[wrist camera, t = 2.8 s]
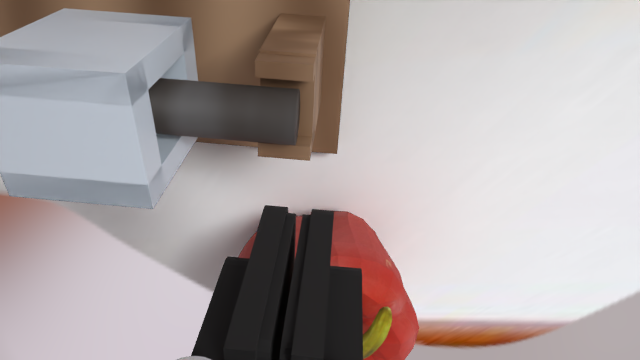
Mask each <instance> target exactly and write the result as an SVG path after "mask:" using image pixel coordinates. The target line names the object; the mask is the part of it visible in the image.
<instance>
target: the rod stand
mask: <svg viewBox="0 0 640 360" xmlns="http://www.w3.org/2000/svg"><path fill="white" fill-rule="evenodd" d="M349 5H350V0H0V37H2V36H4V35H6V34H8V33H11V32H13V31H15V30H17V29H20V28H22V27H24V26H26V25H28V24H31V23H33V22H35V21H37V20H39V19H42V18H44V17H46V16H48V15H50V14H53V13H55V12H57V11H59V10H61V9H64V8H67V9H81V10H94V11H108V12H121V13H135V14H148V15H162V16H175V17H188V18H191V21H192V30H193V39H194V48H195V57H196V66H197V75H198V81H191V80H179V79H166V78H159V79H158V80H157V81H156V82H155V83H154V85H153V86H152V87H151V88H150V89H149V90H148V92H149V97H150V103H151V108H152V114H153V120H154V125H155V131H156V134H165V135H177V136H189V137H198V138H197V140H196V141H195V142H204V143H216V144H228V145H240V146H251V147H258V156H261V157H273V158H285V159H296V160H308V161H310V156H311V152H322V153H334V154H337V147H338V135H339V124H340V112H341V100H342V88H343V76H344V64H345V53H346V41H347V29H348V17H349Z"/></svg>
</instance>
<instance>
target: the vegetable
mask: <svg viewBox="0 0 640 360" xmlns="http://www.w3.org/2000/svg"><path fill="white" fill-rule="evenodd" d="M301 221H302V216H296V239H295V257H296V251H297V245H298V239H299V233H300V227H301ZM256 234H257V232H256V233H255V234H254V235H253V236H252V237H251V238H250V240H249V241H248V242H247V244H246V245H245V247H244V248H243V250H242V251H241V253H240V255H239V257H238V258H250V254H251V251H252V248H253V244H254V241H255V237H256ZM330 266H340V267H351V268H361V269H362V311H363V360H405V358H406V357H407V356H408V354H409V353H410V352H411V350H412V349H413V347H414V344H415V341H416V337H417V333H418V329H419V326H418V321H417V317H416V313H415V311H414V308H413V306H412V303H411V301H410V299H409V297H408V295H407V293H406V291H405V289H404V287H403V283H402V280H401V276H400V273H399V271H398V269H397V268H396V266H395V264H394V263H393V261H392V259H391V258H390V256H389V255H388V253H387V252H386V250H385V249H384V247H383V245H382V244H381V242H380V241H379V239H378V237H377V235H376V233H375V232H374V231H373V230H372V229H371V228H370V227H369V225H368V224H367V223H366V222H365V221H364V220H363V219H361V218H359V217H357V216H355V215H353V214H351V213H349V212H344V211H334V220H333V234H332V248H331V262H330Z"/></svg>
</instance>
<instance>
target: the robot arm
mask: <svg viewBox="0 0 640 360" xmlns="http://www.w3.org/2000/svg"><path fill="white" fill-rule="evenodd" d="M333 220H334V211H326V210H314V209H312V212H311V215H303V216H302V221H301V227H300V233H299V239H298V245H297V251H296V257H295V239H296V214H291V213H288V207H279V206H267V205H266V206H265V207H264V210H263V213H262V217H261V220H260V224H259V227H258V230H257V234H256V237H255V241H254V244H253V248H252V251H251V254H250V258H238V257H227V258H226V260H225V262H224V265H223V268H222V270H221V273H220V276H219V279H218V282H217V285H216V287H215V290H214V293H213V296H212V299H211V301H210V304H209V308H208V310H207V313H206V315H205V318H204V321H203V324H202V327H201V330H200V332H199V335H198V338H197V341H196V344H195V347H194V349H193V352H192V355H191V356H189V357H184V358H180V359H177V360H363V311H362V269H361V268H351V267H340V266H330V262H331V248H332V234H333Z"/></svg>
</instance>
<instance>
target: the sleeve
mask: <svg viewBox="0 0 640 360" xmlns="http://www.w3.org/2000/svg"><path fill="white" fill-rule="evenodd" d="M159 78H166V79H179V80H191V81H198V75H197V66H196V57H195V48H194V39H193V30H192V21H191V18H188V17H175V16H162V15H148V14H135V13H121V12H108V11H94V10H81V9H67V8H64V9H61V10H59V11H57V12H55V13H53V14H50V15H48V16H46V17H44V18H42V19H39V20H37V21H35V22H33V23H31V24H28V25H26V26H24V27H22V28H20V29H17V30H15V31H13V32H11V33H8V34H6V35H4V36H2V37H0V175H1V177H2V179H3V182H4V184H5V186H6V189H7V191H8V193H9V196H14V197H25V198H36V199H47V200H58V201H69V202H80V203H91V204H102V205H113V206H125V207H136V208H147V209H153V208H154V207H155V205H156V204H157V202H158V200H159V199H160V197H161V196H162V194H163V192H164V191H165V189H166V188H167V186H168V184H169V183H170V181H171V180H172V178H173V176H174V175H175V173H176V172H177V170H178V168H179V167H180V165H181V164H182V162H183V160H184V159H185V157H186V156H187V154H188V152H189V151H190V149H191V148H192V146H193V144H194V143H195V141H196V140H197V138H198V137H189V136H177V135H165V134H156V131H155V125H154V120H153V114H152V108H151V103H150V97H149V92H148V90H149V89H150V88H151V87H152V86H153V85H154V83H155V82H156V81H157V80H158V79H159Z"/></svg>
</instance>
